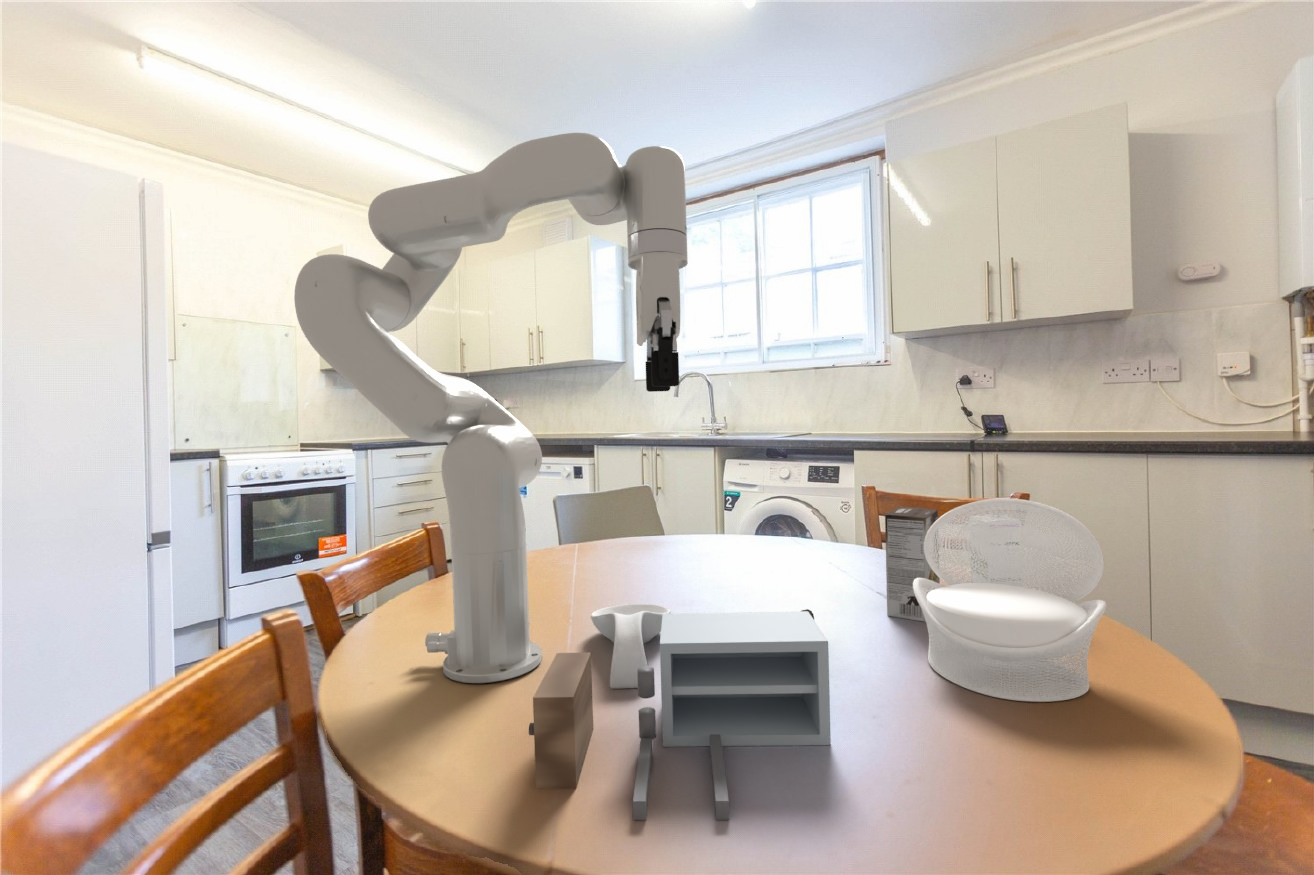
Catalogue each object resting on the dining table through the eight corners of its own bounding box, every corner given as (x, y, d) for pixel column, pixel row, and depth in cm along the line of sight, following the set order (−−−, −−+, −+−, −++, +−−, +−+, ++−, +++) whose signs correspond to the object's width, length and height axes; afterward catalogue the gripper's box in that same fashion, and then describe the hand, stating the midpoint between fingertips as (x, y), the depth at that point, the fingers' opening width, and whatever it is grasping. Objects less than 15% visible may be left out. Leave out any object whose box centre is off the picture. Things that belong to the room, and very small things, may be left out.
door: (527, 789, 51) (524, 697, 51) (552, 730, 61) (549, 653, 61) (576, 789, 51) (573, 697, 51) (593, 729, 61) (590, 652, 61)
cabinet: (630, 820, 47) (626, 694, 47) (645, 703, 67) (642, 614, 66) (865, 819, 46) (862, 691, 46) (810, 701, 66) (808, 611, 66)
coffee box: (900, 601, 101) (898, 506, 101) (941, 607, 97) (939, 508, 97) (885, 616, 94) (883, 513, 93) (929, 623, 90) (927, 516, 89)
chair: (896, 680, 70) (892, 511, 70) (935, 631, 86) (932, 493, 86) (1107, 728, 58) (1104, 525, 58) (1108, 661, 74) (1105, 500, 74)
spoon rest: (593, 626, 94) (592, 580, 93) (668, 622, 94) (667, 577, 94) (582, 694, 70) (580, 633, 70) (682, 689, 71) (680, 628, 70)
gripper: (625, 271, 84) (629, 393, 84) (630, 231, 66) (635, 384, 67) (678, 271, 84) (682, 392, 85) (697, 230, 67) (702, 383, 67)
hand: (661, 388), depth 76 cm, fingers open, 9 cm apart
